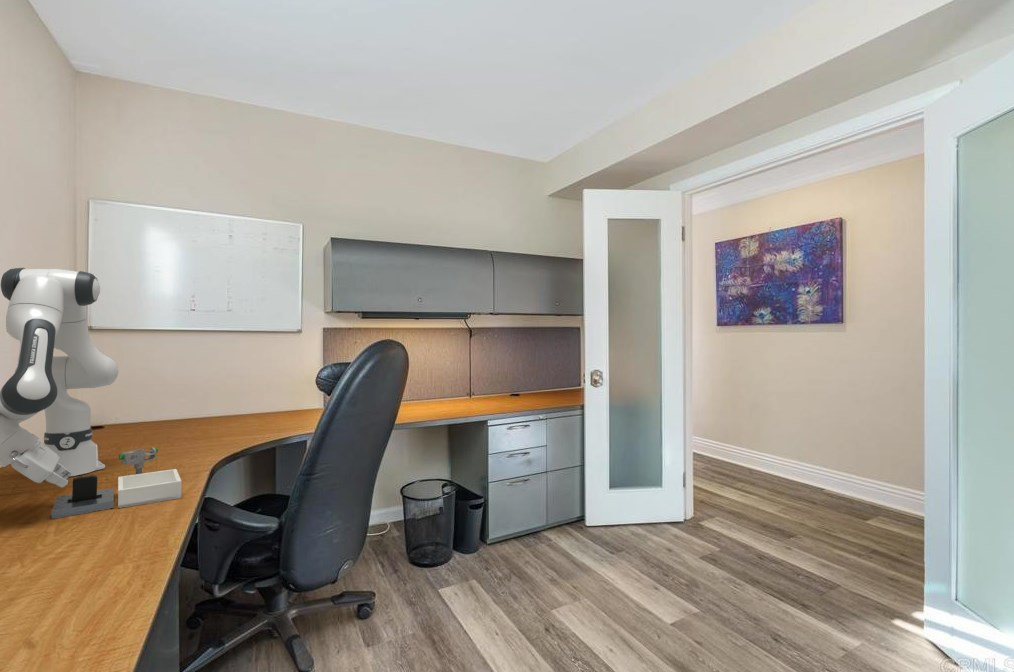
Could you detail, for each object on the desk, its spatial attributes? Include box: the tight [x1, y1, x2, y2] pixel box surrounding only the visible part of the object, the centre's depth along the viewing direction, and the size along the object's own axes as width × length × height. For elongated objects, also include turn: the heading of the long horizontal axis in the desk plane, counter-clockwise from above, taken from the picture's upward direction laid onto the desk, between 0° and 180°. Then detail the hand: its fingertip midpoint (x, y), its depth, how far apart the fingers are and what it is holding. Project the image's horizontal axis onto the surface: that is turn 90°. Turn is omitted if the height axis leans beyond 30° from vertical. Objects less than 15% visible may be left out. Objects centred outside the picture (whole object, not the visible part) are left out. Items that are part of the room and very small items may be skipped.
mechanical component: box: [118, 447, 159, 475], centre depth 152 cm, size 3×10×10 cm, turn 155°
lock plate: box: [51, 487, 115, 520], centre depth 131 cm, size 14×12×2 cm
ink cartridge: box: [71, 474, 98, 503], centre depth 131 cm, size 5×2×8 cm, turn 128°
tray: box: [117, 468, 182, 509], centre depth 139 cm, size 16×14×5 cm
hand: (67, 480), depth 128 cm, fingers open, 8 cm apart
